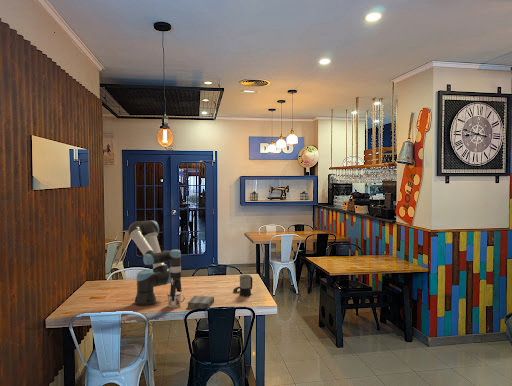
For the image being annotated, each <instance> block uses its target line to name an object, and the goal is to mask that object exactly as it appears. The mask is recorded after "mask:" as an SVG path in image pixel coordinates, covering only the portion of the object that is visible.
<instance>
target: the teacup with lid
mask: <svg viewBox="0 0 512 386" xmlns="http://www.w3.org/2000/svg"><path fill="white" fill-rule="evenodd" d="M175 296H176V305H172V296H170V292H168V293H167V307H169V308H173V309H174V308H176V309H177V308H178V307H180V306H181V303H183V302H184V301H185V299H186V298H185V295H182V294H181V292H177V290H176V292H175ZM181 297H183V299H182V300H181V301H180V299H181Z"/></svg>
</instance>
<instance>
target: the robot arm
mask: <svg viewBox="0 0 512 386" xmlns="http://www.w3.org/2000/svg"><path fill="white" fill-rule="evenodd" d="M159 232H160V227H159V224H158V222H157V221H156V220H150V219H149V220H140V221H139V220H138V221H134V222H133V223H131V224H130V225H129V227H128V230H127V234H128V238H130V240H132V241H133V242H134V243H135V245H136V246H137V248H138V249H139V251H140V252H141V253H142V255H143V259H142V260H143V264H144V265H146V266H147V265H152V267H153V268H152V269H150V268H149V269H144V270H140V271H138V272H137V274H136V296H135V298H134V305H136V306H139V307H140V306H141V307H145V306H151V305H154V304H155V303H156V302H157V297H156V294H155V292H154V288H156V287H160V286H166V285H169V284H170V296H172V305H176V296H175V292H176V291H177V292H180V293H181V292H182V281H181V279H182V278H181V277H182V254H181V252H182V251H181V250H180V249H171V250H163V251H162V250H161V247H160V244H159V243H160V242H159V241H158V236H159ZM165 263H169V266H168V264H165ZM180 301H182V300H181V298H180Z"/></svg>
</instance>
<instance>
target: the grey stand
mask: <svg viewBox="0 0 512 386" xmlns="http://www.w3.org/2000/svg"><path fill="white" fill-rule="evenodd" d="M214 303H215V296H209V295H208V296H202V295H194V296H193V297H192V298H190V300H189V301H188V302H187V308H188V309H198V310H202V309H201V308H209V309H210V308H211V307H212V305H214ZM210 306H211V307H210Z"/></svg>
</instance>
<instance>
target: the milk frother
mask: <svg viewBox="0 0 512 386" xmlns="http://www.w3.org/2000/svg"><path fill="white" fill-rule="evenodd" d="M252 289H253V277H252V276H251V275H250V274H241V275H239V286H237V287H234V288H233V290H232V292H234V293H235V294H239V296H240V297H249V296H250V297H251V296H252ZM238 290H239V291H238Z"/></svg>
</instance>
